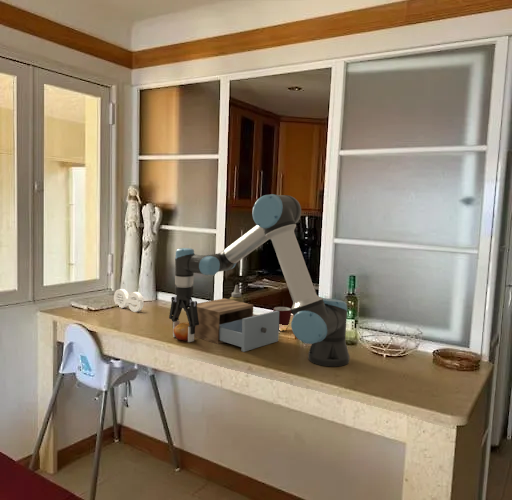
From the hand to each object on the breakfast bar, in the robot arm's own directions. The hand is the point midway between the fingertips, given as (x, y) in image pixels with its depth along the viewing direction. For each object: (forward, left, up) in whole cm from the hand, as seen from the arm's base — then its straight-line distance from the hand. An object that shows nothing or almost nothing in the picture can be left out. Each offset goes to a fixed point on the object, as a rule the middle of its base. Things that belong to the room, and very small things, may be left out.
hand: (183, 338), depth 200 cm
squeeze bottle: (+5, -37, 0) cm, 37 cm away
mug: (-19, -41, 0) cm, 45 cm away
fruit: (0, 0, 0) cm, 0 cm away
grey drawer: (-21, -16, 0) cm, 26 cm away
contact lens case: (+61, -14, -1) cm, 63 cm away
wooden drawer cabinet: (-6, -17, 0) cm, 17 cm away
